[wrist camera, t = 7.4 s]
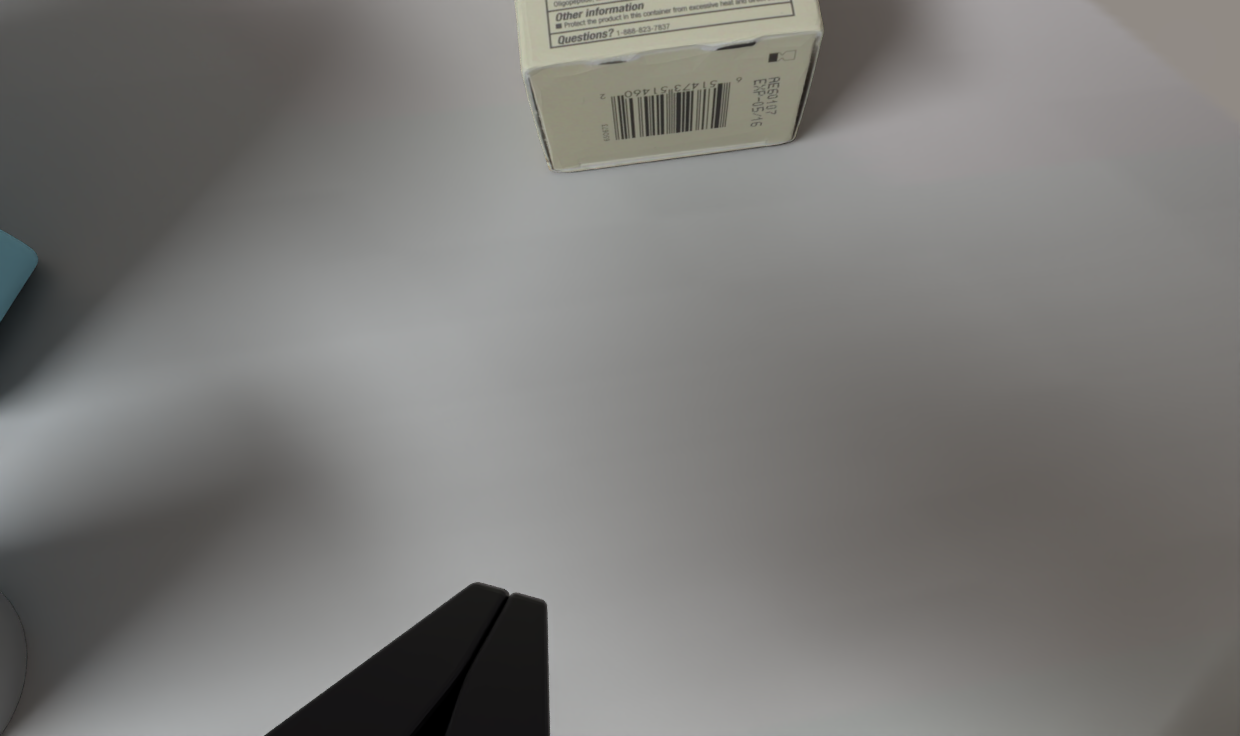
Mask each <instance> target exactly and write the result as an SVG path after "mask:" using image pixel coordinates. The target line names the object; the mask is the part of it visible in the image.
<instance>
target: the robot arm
mask: <svg viewBox="0 0 1240 736" xmlns="http://www.w3.org/2000/svg"><path fill="white" fill-rule="evenodd" d="M264 736H550V711H549V663H548V614H547V604H546V602H545V601H544V600H542V599H538V598H535V597H531V596H527V595H524V594H520V593H513V594H511V595H509V593H508V591H507V590H505V589H502V588H498V587H495V586H491V585H488V584H484V583H480V582H476V583H472V584H470V585H469V586H467V587H466V588H465V589H463V590H462V591H461V592H459V593H458V594H457V595H455V596H454V597H452V598H451V599H450V600H448V601H447V602H446V603H444V604H443V605H442V606H440V607H439V608H437V609H436V610H435V611H433V612H432V613H431V614H429V615H428V616H427V617H425V618H424V619H422V620H421V621H420V622H418V623H417V624H416V625H414V626H413V627H412V628H410V629H409V630H407V631H406V632H405V633H403V634H402V635H401V636H399V637H398V638H397V639H395V640H394V641H392V642H391V643H390V644H388V645H387V646H386V647H384V648H383V649H382V650H380V651H379V652H378V653H376V654H375V655H373V656H372V657H371V658H369V659H368V660H367V661H365V662H364V663H363V664H361V665H360V666H358V667H357V668H356V669H354V670H353V671H352V672H350V673H349V674H348V675H346V676H345V677H343V678H342V679H341V680H339V681H338V682H337V683H335V684H334V685H333V686H331V687H330V688H328V689H327V690H326V691H324V692H323V693H322V694H320V695H319V696H318V697H316V698H315V699H313V700H312V701H311V702H309V703H308V704H307V705H305V706H304V707H303V708H301V709H300V710H299V711H297V712H296V713H294V714H293V715H292V716H290V717H289V718H288V719H286V720H285V721H284V722H282V723H281V724H279V725H278V726H277V727H275V728H274V729H273V730H271V731H270V732H269V733H267V734H266V735H264Z"/></svg>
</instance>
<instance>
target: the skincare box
mask: <svg viewBox="0 0 1240 736" xmlns="http://www.w3.org/2000/svg"><path fill="white" fill-rule="evenodd" d="M515 9H516V18H517V30H518V42H519V52H520V64H521V73H522V77H523V81H524V85H525V89H526V93H527V97H528V101H529V104H530V108H531V111H532V115H533V118H534V122H535V125H536V129H537V132H538V136H539V139H540V142H541V145H542V148H543V151H544V154H545V158H546V160H547V164H548V167H549V169H550V170H551V171H553V172H575V171H583V170H590V169H599V168H606V167H614V166H621V165H628V164H635V163H644V162H652V161H659V160H665V159H673V158H680V157H688V156H696V155H703V154H711V153H719V152H726V151H733V150H740V149H748V148H755V147H762V146H771V145H778V144H783V143H786V142H790V141H792V140H793V139H794V138H795V137H796V134H797V131H798V128H799V124H800V122H801V119H802V115H803V111H804V109H805V105H806V101H807V98H808V94H809V90H810V87H811V83H812V79H813V75H814V71H815V67H816V63H817V59H818V55H819V50H820V45H821V41H822V38H823V34H824V26H823V22H822V17H821V11H820V6H819V1H818V0H515Z"/></svg>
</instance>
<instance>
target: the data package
mask: <svg viewBox="0 0 1240 736" xmlns="http://www.w3.org/2000/svg"><path fill="white" fill-rule="evenodd" d="M37 263H38V256H37V254H36V253H35V251H34V250H33V249H31V248H30V247H29V246H27V245H26V244H24V243H23V242H21V241H20V240H18V239H16V238H15V237H13V236H11V235H9V234H8V233H6V232H4V231H2V230H1V229H0V322H1V320H2V319H3V317H4V316H5V314H6V312H7V311H8V309H9V308H10V306H11V305H12V303H13V302H14V300H15V298H16V297H17V295H18V294H19V292H20V291H21V289H22V287H23V286H24V284H25V283H26V281H27V280H28V278H29V277H30V275H31V273H32V272H33V270H34V269H35V267H36V266H37Z"/></svg>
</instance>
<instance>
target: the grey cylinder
mask: <svg viewBox="0 0 1240 736" xmlns="http://www.w3.org/2000/svg"><path fill="white" fill-rule="evenodd" d="M26 664H27V650H26V640H25V636H24V631H23V627H22V625H21V622H20V619H19V617H18V615H17V613H16V611H15V609H14V608H13V606H12V605H11V603H10V602H9V601H8V599H7V598H6V597H5V596H4V595H3V594H2V593H1V592H0V735H1V734H2V732H3V731H4V729H5V728H6V726H7V724H8V723H9V721H10V719H11V717H12V715H13V713H14V711H15V709H16V706H17V704H18V701H19V699H20V696H21V692H22V689H23V685H24V680H25V674H26Z"/></svg>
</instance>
